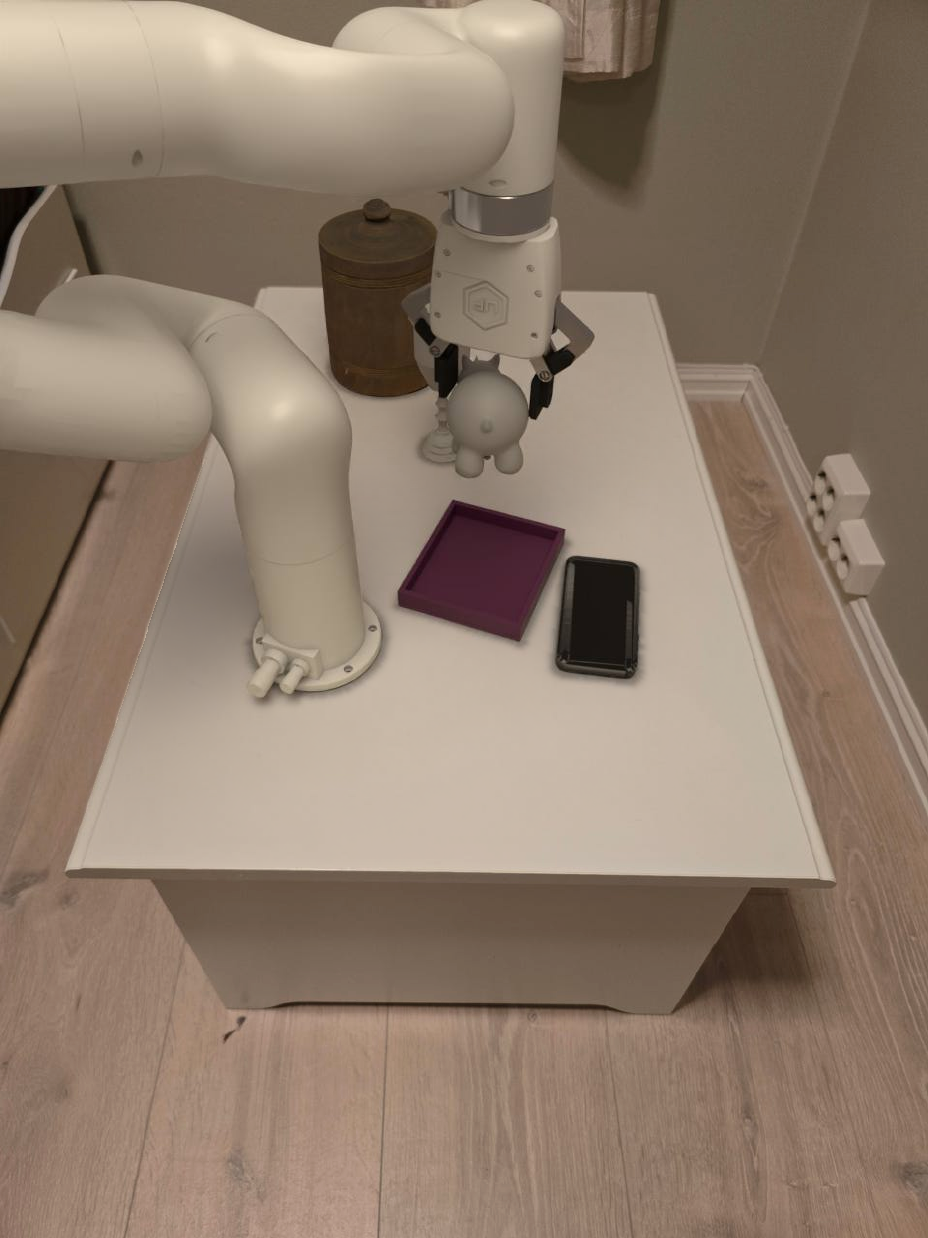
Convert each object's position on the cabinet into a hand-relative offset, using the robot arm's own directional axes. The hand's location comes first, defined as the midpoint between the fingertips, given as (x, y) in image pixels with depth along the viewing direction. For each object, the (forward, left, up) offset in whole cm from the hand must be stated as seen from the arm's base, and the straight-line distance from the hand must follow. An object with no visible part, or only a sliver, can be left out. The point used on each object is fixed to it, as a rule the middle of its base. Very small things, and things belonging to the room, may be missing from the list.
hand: (492, 399), depth 80 cm
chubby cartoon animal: (0, +1, -5) cm, 5 cm away
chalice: (+17, +12, -22) cm, 30 cm away
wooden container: (+31, +26, -22) cm, 46 cm away
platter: (-1, 0, -21) cm, 21 cm away
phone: (-2, -13, -21) cm, 25 cm away
